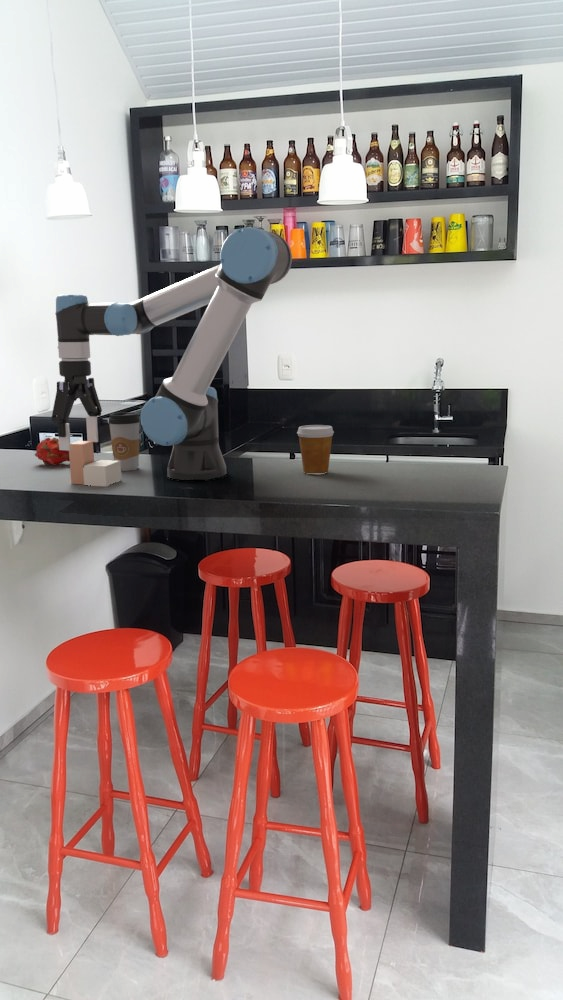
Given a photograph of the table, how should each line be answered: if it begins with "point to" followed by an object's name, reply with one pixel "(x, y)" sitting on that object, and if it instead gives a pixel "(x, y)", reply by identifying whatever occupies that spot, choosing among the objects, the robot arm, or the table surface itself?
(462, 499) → the table surface
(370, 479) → the table surface
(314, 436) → the disposable coffee cup
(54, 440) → the dragon fruit
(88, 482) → the cream white block
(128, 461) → the coffee cup
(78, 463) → the salmon orange rectangular block
